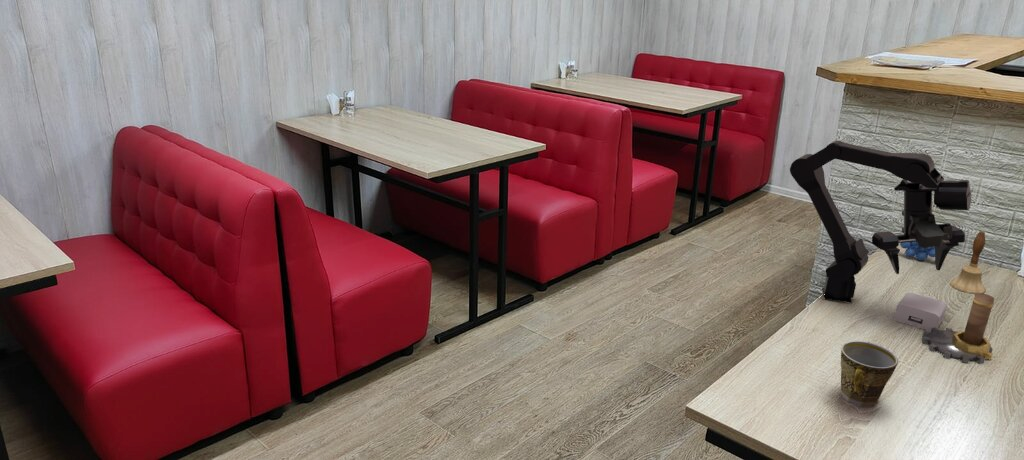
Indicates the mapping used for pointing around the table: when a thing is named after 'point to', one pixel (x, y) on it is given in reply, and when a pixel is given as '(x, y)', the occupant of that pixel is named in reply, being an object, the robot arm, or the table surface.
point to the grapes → (917, 250)
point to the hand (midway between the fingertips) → (917, 271)
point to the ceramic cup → (865, 372)
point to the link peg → (978, 319)
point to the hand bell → (972, 270)
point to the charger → (920, 311)
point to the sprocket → (956, 345)
